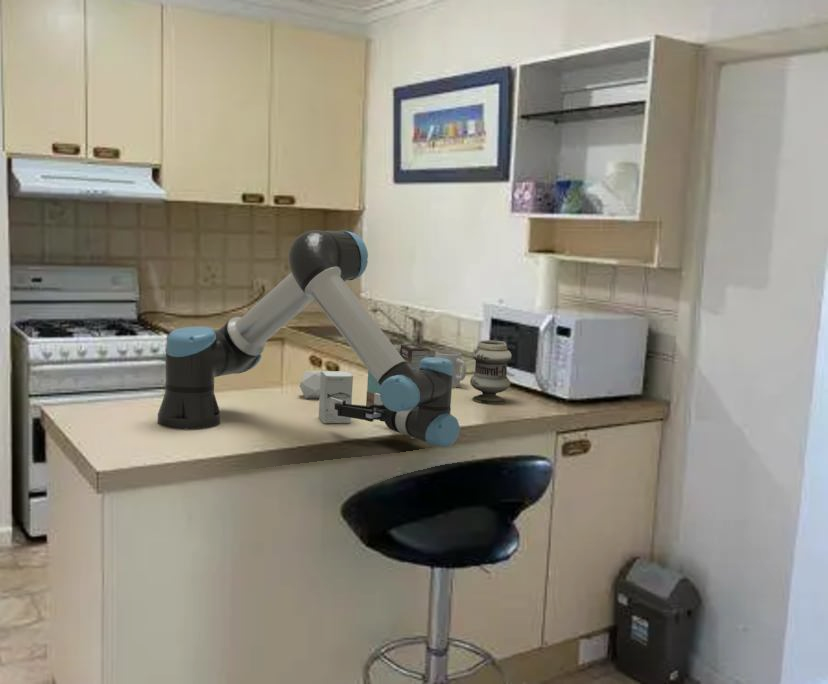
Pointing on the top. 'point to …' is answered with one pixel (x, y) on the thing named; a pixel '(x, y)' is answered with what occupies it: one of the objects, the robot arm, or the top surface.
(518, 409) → the top surface
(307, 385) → the die
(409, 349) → the coffee box
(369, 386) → the block upper
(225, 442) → the top surface
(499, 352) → the apothecary jar
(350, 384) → the supplement box
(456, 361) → the mug
